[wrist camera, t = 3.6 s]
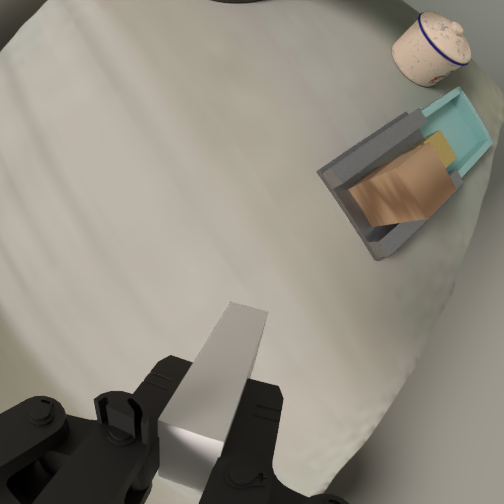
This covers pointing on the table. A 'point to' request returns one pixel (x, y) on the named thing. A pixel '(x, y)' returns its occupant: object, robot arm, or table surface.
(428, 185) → the block
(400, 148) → the slot board
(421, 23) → the teacup with lid
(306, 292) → the table surface
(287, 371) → the table surface
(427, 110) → the tray
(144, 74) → the table surface
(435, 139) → the yellow cube
